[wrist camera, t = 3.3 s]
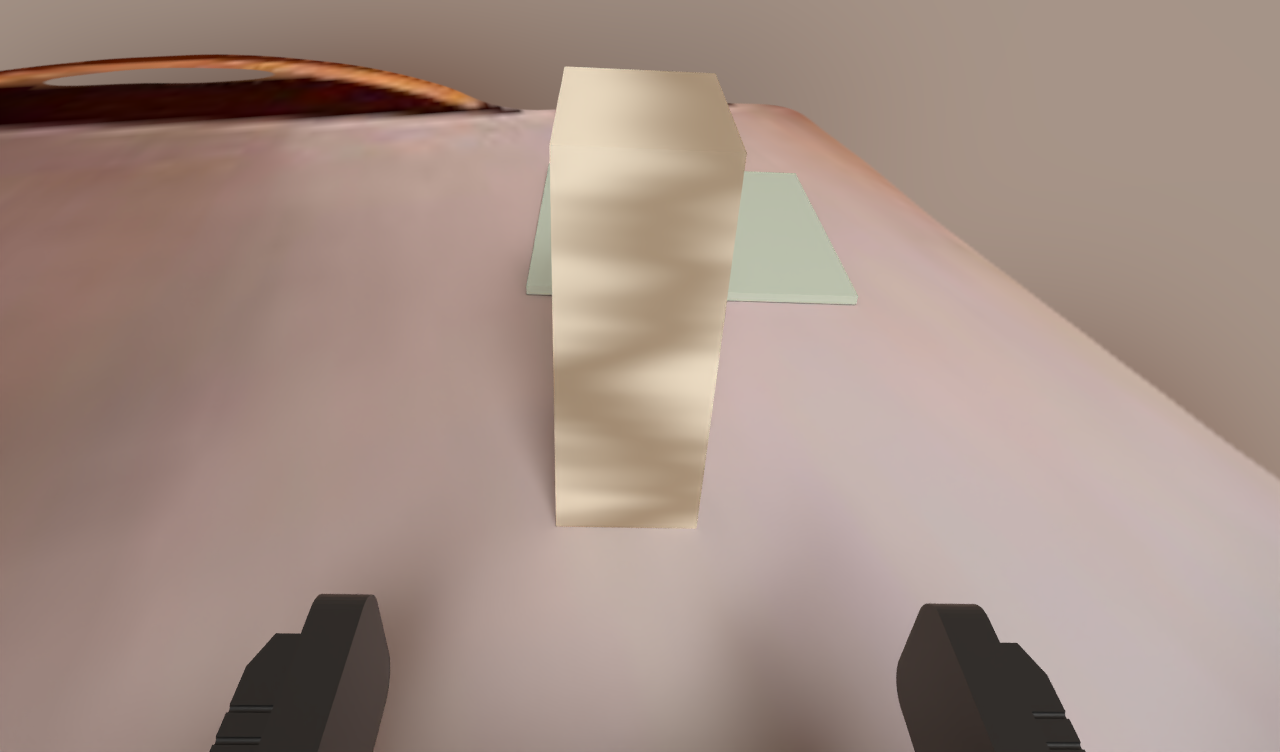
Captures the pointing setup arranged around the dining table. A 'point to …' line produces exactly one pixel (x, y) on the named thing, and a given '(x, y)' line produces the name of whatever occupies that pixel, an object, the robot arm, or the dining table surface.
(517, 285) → the dining table surface
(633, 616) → the dining table surface
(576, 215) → the block
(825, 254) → the mat
